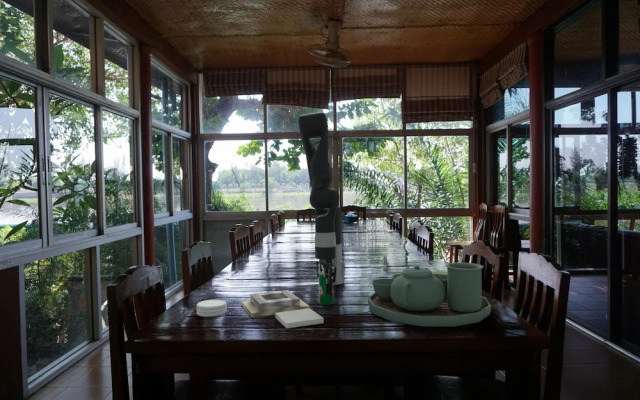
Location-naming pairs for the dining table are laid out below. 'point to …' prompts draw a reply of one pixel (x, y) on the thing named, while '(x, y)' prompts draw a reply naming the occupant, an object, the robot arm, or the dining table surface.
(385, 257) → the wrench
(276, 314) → the tile
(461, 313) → the tea set
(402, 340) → the dining table surface
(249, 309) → the socket board
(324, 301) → the soda can
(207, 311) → the white ribbed disc
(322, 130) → the robot arm
